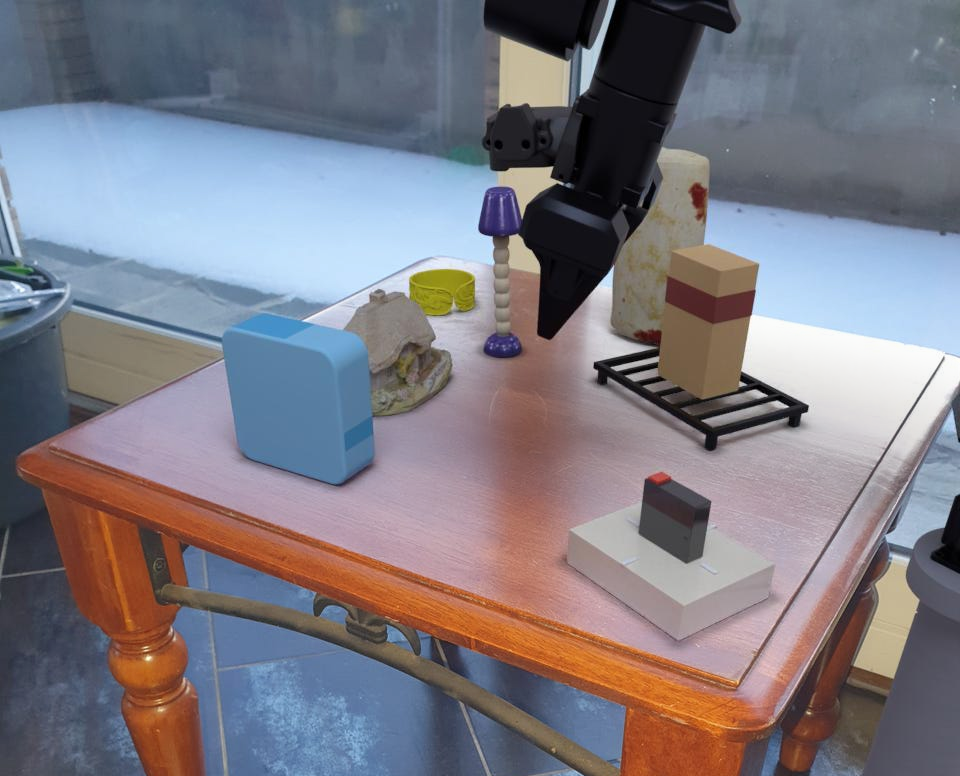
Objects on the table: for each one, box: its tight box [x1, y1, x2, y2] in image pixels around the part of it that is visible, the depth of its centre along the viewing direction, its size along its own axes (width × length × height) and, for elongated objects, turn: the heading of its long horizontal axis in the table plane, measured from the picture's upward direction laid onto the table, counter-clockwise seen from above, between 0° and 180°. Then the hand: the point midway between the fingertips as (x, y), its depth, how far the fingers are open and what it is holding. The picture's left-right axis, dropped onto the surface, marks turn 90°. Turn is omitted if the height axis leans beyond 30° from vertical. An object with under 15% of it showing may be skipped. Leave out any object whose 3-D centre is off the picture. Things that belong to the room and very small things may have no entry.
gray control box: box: [639, 471, 713, 563], centre depth 70 cm, size 5×2×5 cm, turn 35°
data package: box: [221, 312, 376, 486], centre depth 85 cm, size 12×4×12 cm, turn 60°
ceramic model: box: [342, 288, 454, 417], centre depth 98 cm, size 14×11×10 cm
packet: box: [656, 243, 760, 400], centre depth 94 cm, size 5×7×12 cm, turn 29°
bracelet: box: [408, 268, 476, 316], centre depth 121 cm, size 7×8×3 cm
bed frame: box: [592, 346, 810, 452], centre depth 98 cm, size 19×12×2 cm, turn 29°
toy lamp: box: [477, 186, 523, 358], centre depth 105 cm, size 5×5×17 cm
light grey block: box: [566, 501, 776, 642], centre depth 73 cm, size 12×9×3 cm
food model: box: [610, 146, 711, 346], centre depth 107 cm, size 10×7×20 cm
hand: (559, 315), depth 73 cm, fingers open, 9 cm apart
